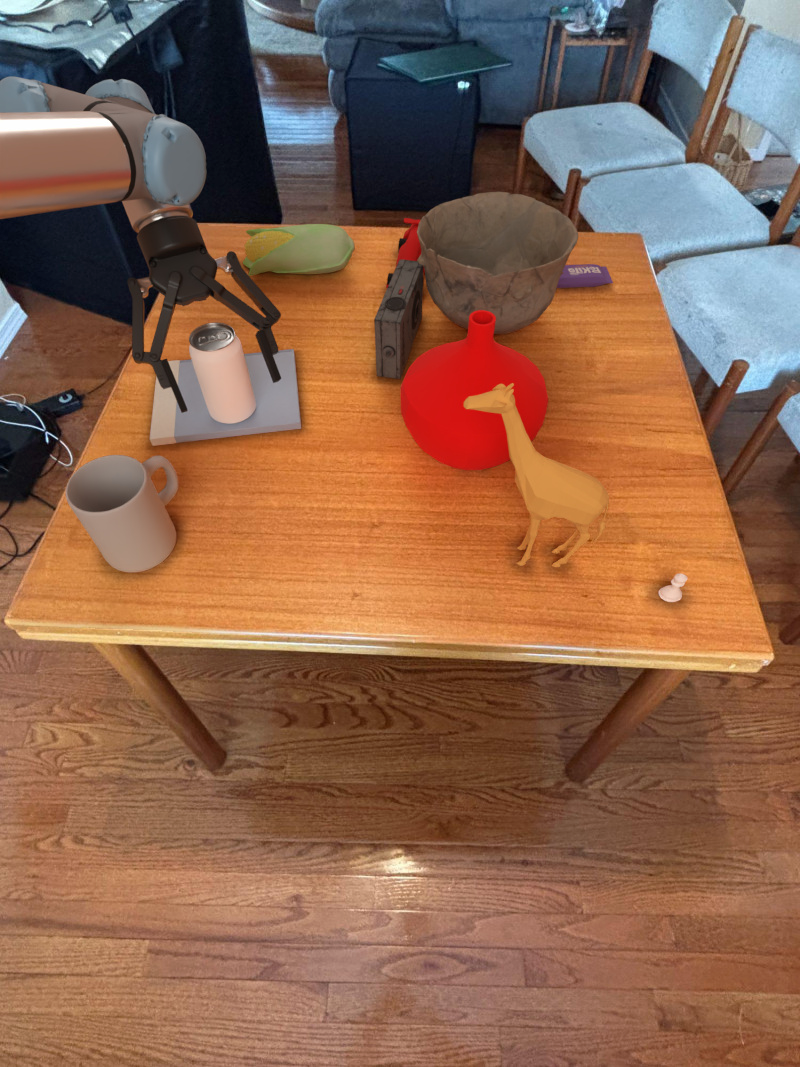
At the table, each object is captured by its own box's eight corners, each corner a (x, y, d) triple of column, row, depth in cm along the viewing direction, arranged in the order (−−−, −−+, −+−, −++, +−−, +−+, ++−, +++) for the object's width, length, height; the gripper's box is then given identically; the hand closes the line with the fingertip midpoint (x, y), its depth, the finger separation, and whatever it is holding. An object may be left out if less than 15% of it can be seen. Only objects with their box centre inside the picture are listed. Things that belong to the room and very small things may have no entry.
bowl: (390, 314, 102) (389, 222, 90) (486, 265, 111) (496, 175, 98) (488, 383, 92) (501, 290, 80) (585, 323, 101) (610, 231, 89)
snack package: (607, 261, 108) (615, 278, 105) (604, 271, 109) (612, 288, 106) (540, 263, 107) (545, 280, 104) (538, 273, 109) (543, 291, 106)
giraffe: (448, 564, 74) (463, 399, 53) (450, 533, 76) (467, 366, 56) (591, 578, 72) (663, 415, 52) (589, 547, 75) (657, 380, 55)
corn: (352, 261, 102) (229, 264, 103) (357, 283, 111) (243, 285, 111) (352, 211, 103) (229, 214, 103) (356, 236, 111) (243, 239, 111)
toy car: (384, 301, 104) (383, 273, 100) (402, 244, 115) (402, 216, 111) (419, 304, 104) (420, 276, 100) (434, 247, 114) (435, 219, 110)
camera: (400, 385, 92) (399, 326, 84) (374, 381, 93) (371, 322, 85) (423, 318, 102) (424, 259, 94) (399, 315, 102) (398, 256, 94)
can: (261, 419, 86) (243, 345, 77) (214, 430, 85) (189, 357, 75) (251, 389, 90) (233, 315, 80) (205, 400, 89) (181, 326, 79)
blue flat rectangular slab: (152, 446, 85) (149, 439, 84) (160, 368, 95) (157, 361, 94) (301, 429, 87) (300, 422, 86) (294, 355, 96) (293, 348, 95)
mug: (139, 585, 72) (102, 527, 63) (88, 552, 75) (46, 492, 66) (212, 515, 78) (187, 453, 69) (162, 487, 81) (132, 424, 72)
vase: (372, 451, 84) (365, 328, 69) (450, 378, 93) (460, 254, 78) (489, 516, 78) (510, 396, 62) (561, 431, 86) (596, 308, 71)
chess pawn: (678, 587, 72) (691, 567, 68) (683, 602, 70) (697, 583, 67) (655, 587, 72) (667, 568, 68) (660, 603, 70) (672, 584, 67)
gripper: (255, 214, 85) (312, 372, 89) (69, 261, 79) (141, 428, 83) (261, 191, 78) (323, 363, 82) (58, 239, 71) (137, 423, 76)
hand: (232, 395), depth 82 cm, fingers open, 12 cm apart
